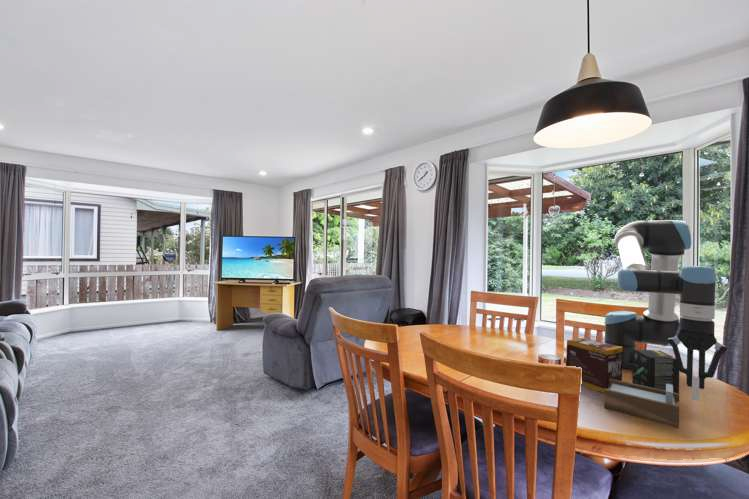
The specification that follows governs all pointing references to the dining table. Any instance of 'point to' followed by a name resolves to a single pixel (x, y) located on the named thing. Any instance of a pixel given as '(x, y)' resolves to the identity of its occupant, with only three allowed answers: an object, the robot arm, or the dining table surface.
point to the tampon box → (655, 369)
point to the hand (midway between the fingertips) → (694, 398)
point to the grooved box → (642, 404)
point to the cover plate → (647, 393)
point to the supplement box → (595, 361)
